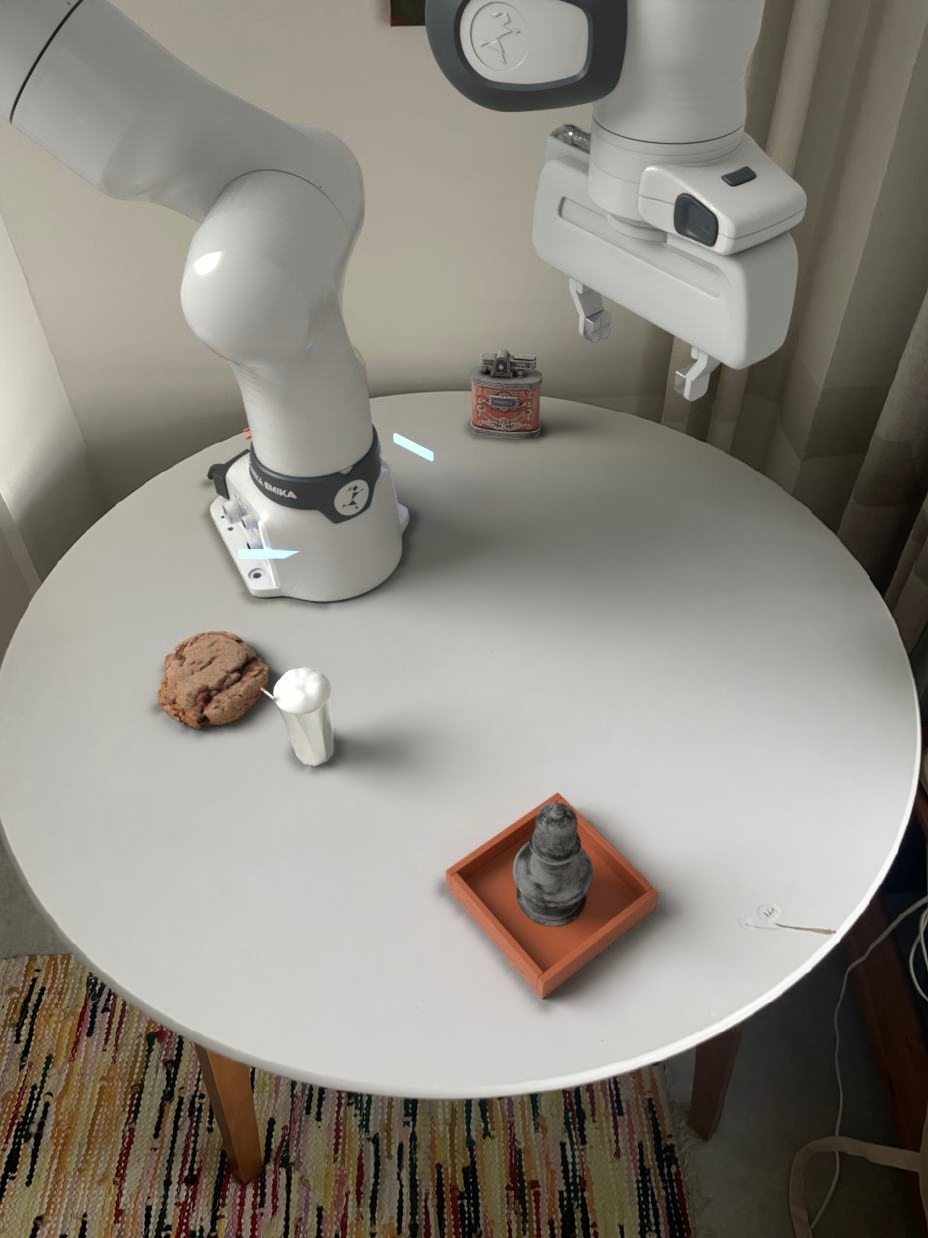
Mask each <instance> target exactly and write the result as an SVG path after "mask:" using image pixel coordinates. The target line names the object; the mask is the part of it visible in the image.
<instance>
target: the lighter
mask: <svg viewBox="0 0 928 1238" xmlns="http://www.w3.org/2000/svg"><path fill="white" fill-rule="evenodd" d="M479 363H480V364H479V365H476V366H473V367H472V368H471V369H470V371H469V380H470V382H471V416H472V417H471V420H470V430H471V432H472V433H474V434H476V435H480V436H485V437H489V438H497V439H508V440H509V439H510V440H523V439H524V440H525V439H535V438H537V437H539V435H540V434H541V422H540V409H541V408H540V406H541V405H540V404H541V385H542V383H543V374H542V372H541V370H539V369H536V368H537V356H535V354H527V353H526V354H525V353H514V354H511V353H510V352H509V351H508V349H507V350H506V349H499V350H498V351H497V352H481V353H480V355H479Z"/></svg>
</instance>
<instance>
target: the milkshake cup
mask: <svg viewBox="0 0 928 1238" xmlns="http://www.w3.org/2000/svg"><path fill="white" fill-rule="evenodd" d="M260 687H261V686H260ZM261 690H262V691H263V692H264V694H265V695H267V696H268V697H269V698H270V699H271V700H273V701H274V702H275V704H276V706H277V709H278V712H279V714H280V716H281V718H282V720H283V723H284V726H285V729H286V732H287V734H288V737H289V739H290V742H291V745H292V748H293V751H294V753H295V755H296V757H297V759H298V760H299V761H301V763H302V765H307V766H312V767H316V766H319V765H322V764H325V763H327V762H328V761H329V760H330V759H331V757H332V756H333V755H335V754H334V753H335V750H334V748H335V747H334V730H333V717H332V687H331V683H330V680H329V679H328V677H326V675H325V674H323V673H322V672H321V671H318V670H317V669H314V668H313V667H299V668H292V669H289V670H288V671H286V672H285V673H284V674H282V676H281V677H280V678H279V680H277V682H276V683H275V685H274V687H273V694H271V693H270V692H268V691H267V689H266V690H265V689H264V688H263V687H261Z"/></svg>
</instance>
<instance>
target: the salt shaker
mask: <svg viewBox="0 0 928 1238" xmlns="http://www.w3.org/2000/svg"><path fill="white" fill-rule="evenodd" d="M577 825H578V822H577V817H576V814H575V812H574V811H573V809H572V808H570V807H569V806H568V805H566V804H563V803H559V802H553V803H548V804H546V805H544V806H543V807H541V809H540V810H539V811H538V813H537V816H536V825H535V828H534V830H533V831H532V833H531V835H530V838H529V842H528V843H526V844H525V845H524V846H523V847H522V848H521V849H520V851H519V852H518V853H517V855H516V857H515V860H514V863H513V876H514V880H515V883H516V885H517V900H518V904H519V906H520V908H521V910H522V912H523V913H524V914H525V915H526V916H527V917H528V918H529V919H531V920H532V921H534V922H536V923H537V924H541V925H544V926H551V927H557V926H562V925H566V924H568V923H570V922H572V921H574V920H575V919H576V918H577V917H578V916H579V915H580V914H581V912H582V911H583V909H584V907H585V903H586V893H587V892H588V890H589V889H590V887H591V884H592V880H593V865H592V862H591V859H590V857H589V856H588V854H587V852H586V851H585V850H584V849H583V848H582V847H581V840H580V837H579V834H578V833H577Z"/></svg>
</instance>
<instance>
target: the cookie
mask: <svg viewBox="0 0 928 1238" xmlns="http://www.w3.org/2000/svg"><path fill="white" fill-rule="evenodd" d="M174 651H175V652H174V653H173V654H172V653H167V654H166V655H165V656H164V667H165V669H166V672H165V673H164V676H163V677H162V679H161V682H160V687H159V690H158V692H157V702H158V705H159V706H160V707H161V708H162V711H163V712H165V713H166V714H167V715H168V716H169V717H170V718H171V719H173V720H174V721H175V722H177V723H180V724H183V725H184V726H185V725H188V727H192V728H193V729H194V730H196V729H201V728H202V727H203V726H204V727H205V726H210V727H211V725H212V726H216V727H217V726H221V725H226V724H230V723H232V722H236V721H237V720H238V719H240V718H243V715H244V714H245V713H247V712H248V711H249V710H250V709H251V708H252V707H253V706H254V705H255V704H256V703H257V702H258V700H259V699H260V697H261V696H264V695H265V692H263V691H262V690H261V687H263V688H264V689H265V690H266V691H267V685H268V683H269V671H270V669H269V665H268V664H266V663H264V662H263V661H262V658H261V656H260V657H259V656H258V657H257V654H256V652H255V651H254V649H253V648H252V647H251V646H249V645H248V644H247V643H246V642H245V641H244V640H243V639H242V638H241V637H239V636H238V635H236V634H234V633H231V632H227V631H225V630H224V631H222V630H221V631H215V630H212V631H207V632H199V633H197V634H195V635H193V636H191V637H189V638H187V639H184V640H183V641H180V642H179V643H178V644H177V645H176V646H175V647H174ZM260 686H261V687H260Z"/></svg>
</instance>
